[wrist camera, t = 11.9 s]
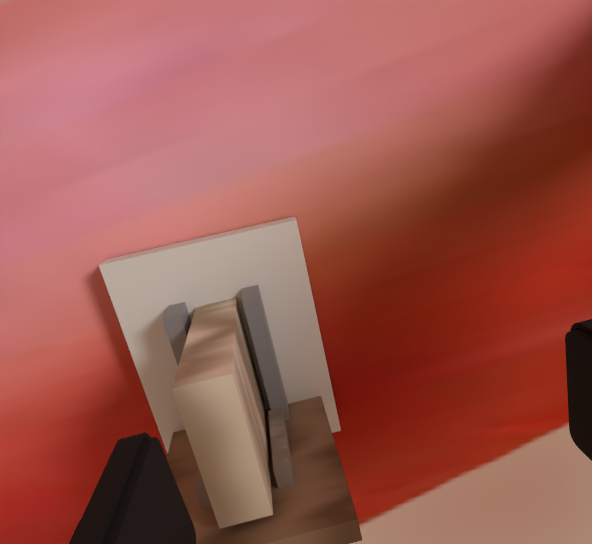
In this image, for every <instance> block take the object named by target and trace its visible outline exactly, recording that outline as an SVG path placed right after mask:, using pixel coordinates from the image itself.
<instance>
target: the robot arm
mask: <svg viewBox="0 0 592 544" xmlns="http://www.w3.org/2000/svg"><path fill="white" fill-rule="evenodd" d="M565 344H566V366H567V387H568V409H569V429H570V434H571V437H572V439H573V441H574V443H575V444H576V445H577V446H578V448H579V449H580V450H581V451H582V452H583V453H584V454H585V455H586V456H587V457H589V459H591V460H592V319H590V320H586V321H582V322H578V323H575V324H574V325H572V327H571V331H570V332H568V333H567V334H566V337H565ZM69 544H196V532H195V528H194V525H193V522H192V520H191V517H190V515H189V512H188V510H187V508H186V505H185V503H184V500H183V498H182V495H181V493H180V490H179V488H178V486H177V483H176V481H175V478H174V476H173V473H172V471H171V468H170V466H169V464H168V461H167V459H166V456H165V454H164V451H163V449H162V447H161V444H160V442H159V440H158V439H157V438H156V437H153V438H150V436H149V435H148V434H147V433H142V434H138V435H134V436H130V437H126V438H122V439H120V440H118V442H117V443H116V446H115V448H114V450H113V452H112V454H111V456H110V459H109V461H108V463H107V465H106V467H105V469H104V471H103V474H102V476H101V478H100V480H99V482H98V484H97V487H96V489H95V491H94V493H93V495H92V497H91V499H90V502H89V504H88V506H87V508H86V510H85V512H84V515H83V517H82V519H81V520H80V522H79V524H78V526H77V528H76V530H75V532H74V534H73V536H72V539H71V541H70V543H69Z"/></svg>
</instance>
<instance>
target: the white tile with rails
mask: <svg viewBox="0 0 592 544" xmlns="http://www.w3.org/2000/svg"><path fill="white" fill-rule="evenodd" d="M99 268H100V270H101V273H102V276H103V279H104V281H105V284H106V287H107V290H108V292H109V295H110V298H111V301H112V303H113V306H114V309H115V312H116V314H117V317H118V320H119V323H120V325H121V328H122V331H123V334H124V336H125V339H126V342H127V345H128V347H129V350H130V353H131V356H132V358H133V361H134V364H135V367H136V369H137V372H138V375H139V378H140V380H141V383H142V386H143V389H144V391H145V394H146V397H147V400H148V402H149V405H150V408H151V411H152V413H153V416H154V419H155V421H156V424H157V427H158V430H159V432H160V435H161V438H162V441H163V443H164V446H165V449H166V452H167V454H168V451H169V447H170V443H171V439H172V435H173V432H177V431H181V430H185V427H184V424H183V421H182V418H181V415H180V412H179V409H178V406H177V403H176V401H175V398H174V395H173V392H172V389H171V388H172V385H173V382H174V378H175V375H176V372H177V369H178V365H179V362H180V359H181V355H182V352H183V349H184V345H185V342H186V339H187V336H188V332H189V329H190V326H191V322H192V319H193V316H194V312H195V309H196V307H199V306H203V305H207V304H211V303H215V302H220V301H224V300H228V299H232V298H236V297H237V301H238V305H239V308H240V312H241V316H242V319H243V323H244V327H245V330H246V334H247V338H248V342H249V345H250V349H251V353H252V356H253V360H254V364H255V367H256V371H257V375H258V378H259V382H260V386H261V390H262V393H263V397H264V401H265V409H269V408H271V410H273V409H277V408H281V407H282V411H283V415H284V419H285V421H287V420H290V415H289V408H288V404H289V403H293V402H297V401H301V400H305V399H310V398H314V397H318V396H321V398H322V401H323V404H324V408H325V411H326V414H327V418H328V421H329V425H330V428H331V431H332V433H334V432H338V431H341V428H340V423H339V419H338V414H337V409H336V404H335V400H334V395H333V390H332V385H331V381H330V376H329V371H328V367H327V362H326V357H325V352H324V348H323V343H322V338H321V334H320V329H319V324H318V319H317V315H316V310H315V305H314V300H313V296H312V291H311V286H310V282H309V277H308V272H307V267H306V263H305V258H304V253H303V248H302V244H301V239H300V234H299V230H298V225H297V220H296V218H295V217H290V218H285V219H281V220H277V221H272V222H268V223H264V224H259V225H255V226H250V227H246V228H242V229H237V230H233V231H229V232H224V233H220V234H216V235H211V236H207V237H202V238H198V239H194V240H189V241H185V242H181V243H176V244H172V245H167V246H163V247H159V248H154V249H150V250H146V251H141V252H137V253H133V254H128V255H124V256H119V257H115V258H111V259H106V260H104V261H103V262H102V263H101V264H100V265H99Z"/></svg>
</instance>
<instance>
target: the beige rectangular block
mask: <svg viewBox="0 0 592 544" xmlns="http://www.w3.org/2000/svg"><path fill="white" fill-rule="evenodd" d="M171 389H172V392H173V395H174V398H175V401H176V403H177V406H178V409H179V412H180V415H181V418H182V421H183V424H184V427H185V430H186V433H187V435H188V438H189V441H190V444H191V447H192V450H193V453H194V456H195V459H196V462H197V465H198V467H199V470H200V473H201V476H202V479H203V482H204V485H205V488H206V491H207V494H208V497H209V500H210V502H211V505H212V508H213V511H214V514H215V517H216V520H217V523H218V526H219V529H221V528H225V527H228V526H232V525H236V524H240V523H244V522H248V521H251V520H255V519H259V518H263V517H267V516H271V515H273V507H272V493H271V480H270V466H269V453H268V439H267V425H266V412H265V401H264V397H263V393H262V390H261V386H260V382H259V378H258V375H257V371H256V367H255V364H254V360H253V356H252V353H251V349H250V345H249V342H248V338H247V334H246V330H245V327H244V323H243V319H242V316H241V312H240V308H239V305H238V301H237V297H236V298H232V299H228V300H224V301H220V302H215V303H211V304H207V305H203V306H199V307H196V309H195V312H194V316H193V319H192V322H191V326H190V329H189V332H188V336H187V339H186V342H185V345H184V349H183V352H182V355H181V359H180V362H179V365H178V369H177V372H176V375H175V378H174V382H173V385H172V388H171Z"/></svg>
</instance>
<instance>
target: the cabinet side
mask: <svg viewBox="0 0 592 544" xmlns="http://www.w3.org/2000/svg"><path fill="white" fill-rule="evenodd" d="M288 408H289V415H290V420H287V421H285V419H284V415H283V411H282V407H281V408H277V409H273V410H271V408H269V409H265V412H266V425H267V439H268V453H269V466H270V480H271V493H272V507H273V515H271V516H267V517H263V518H259V519H255V520H251V521H248V522H244V523H240V524H236V525H232V526H228V527H225V528H221V529H219V526H218V523H217V520H216V517H215V514H214V511H213V508H212V505H211V502H210V500H209V497H208V494H207V491H206V488H205V485H204V482H203V479H202V476H201V473H200V470H199V467H198V465H197V462H196V459H195V456H194V453H193V450H192V447H191V444H190V441H189V438H188V435H187V433H186V430H181V431H177V432H173V435H172V439H171V443H170V447H169V451H168V455H167V461H168V464H169V466H170V468H171V471H172V473H173V476H174V478H175V481H176V483H177V486H178V488H179V490H180V493H181V495H182V498H183V500H184V503H185V505H186V508H187V510H188V512H189V515H190V517H191V520H192V522H193V525H194V528H195V532H196V544H349V543H353V542H357V541H361V540H362V537H361V533H360V528H359V523H358V519H357V515H356V512H355V509H354V505H353V502H352V498H351V495H350V492H349V488H348V485H347V482H346V478H345V475H344V472H343V468H342V465H341V461H340V458H339V455H338V451H337V448H336V445H335V441H334V438H333V435H332V431H331V428H330V425H329V421H328V418H327V414H326V411H325V408H324V404H323V401H322V398H321V396H318V397H314V398H310V399H305V400H301V401H297V402H293V403H289V404H288Z"/></svg>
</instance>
